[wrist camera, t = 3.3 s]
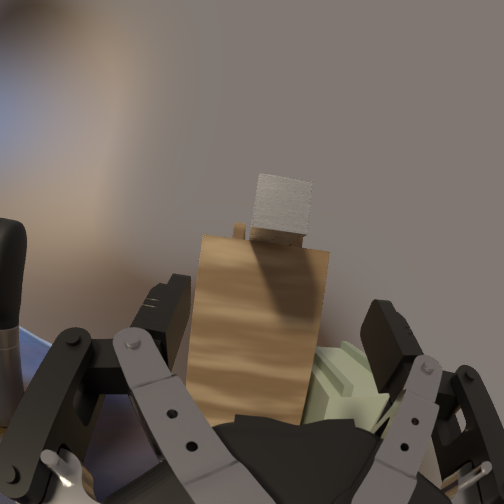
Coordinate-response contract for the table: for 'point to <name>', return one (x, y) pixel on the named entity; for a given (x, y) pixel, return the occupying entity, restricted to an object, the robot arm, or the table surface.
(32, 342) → the table surface
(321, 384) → the sage dock
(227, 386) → the oak stand
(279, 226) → the steel bar
